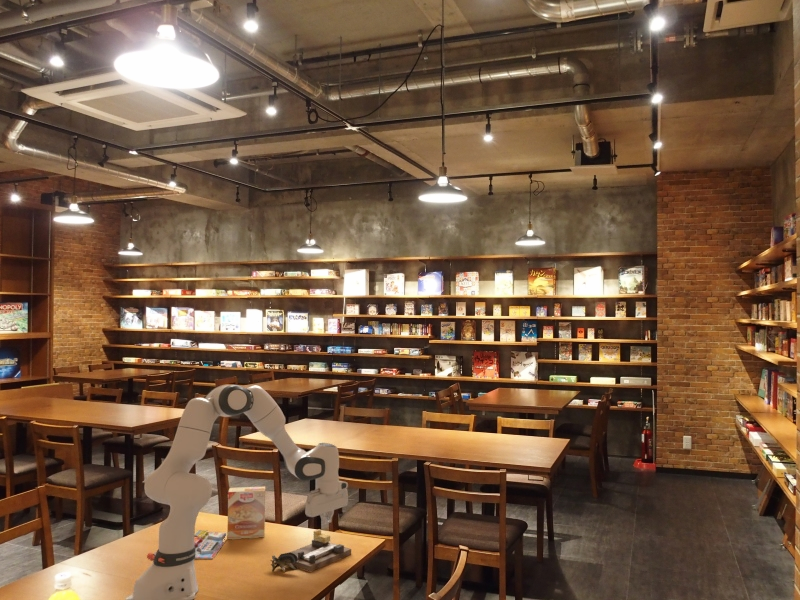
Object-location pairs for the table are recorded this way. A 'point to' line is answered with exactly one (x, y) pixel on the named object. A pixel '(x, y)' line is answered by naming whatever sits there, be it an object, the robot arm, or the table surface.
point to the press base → (321, 561)
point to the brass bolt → (321, 536)
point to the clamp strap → (320, 552)
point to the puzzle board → (207, 544)
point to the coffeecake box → (246, 512)
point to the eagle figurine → (284, 561)
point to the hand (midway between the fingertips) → (326, 523)
